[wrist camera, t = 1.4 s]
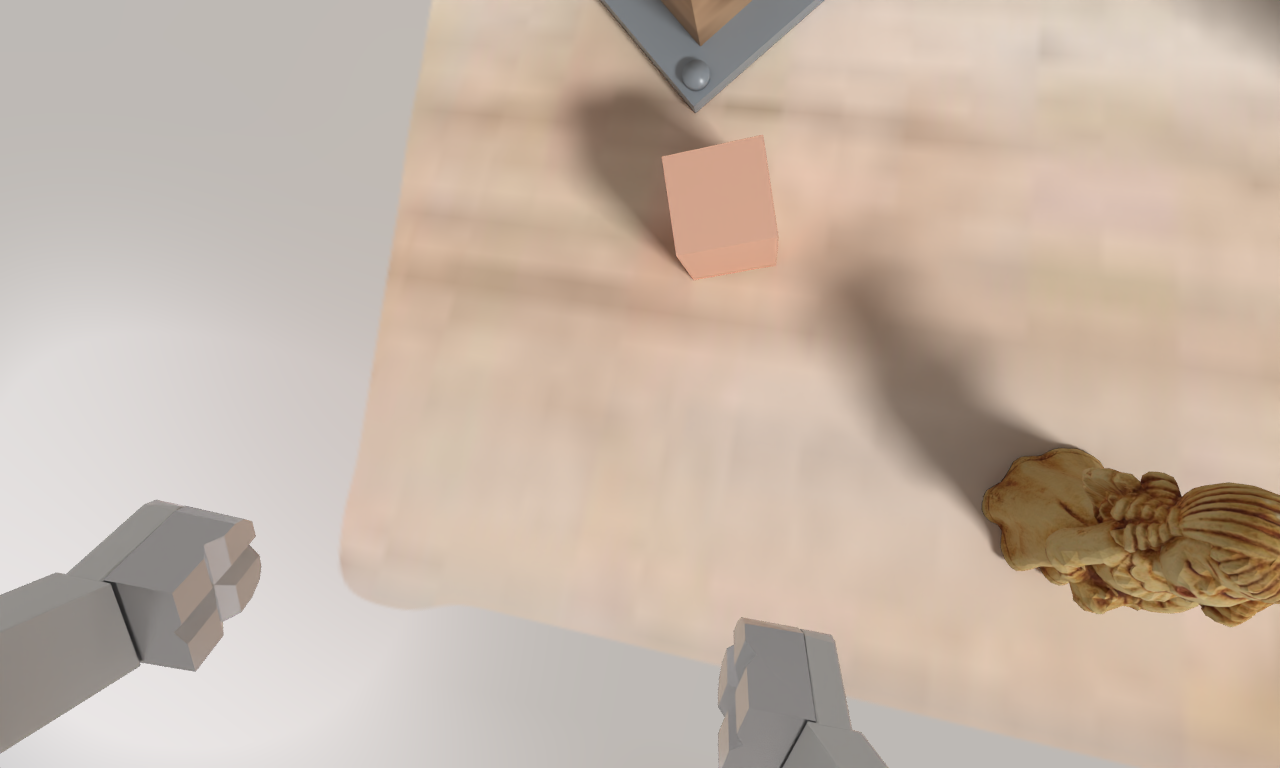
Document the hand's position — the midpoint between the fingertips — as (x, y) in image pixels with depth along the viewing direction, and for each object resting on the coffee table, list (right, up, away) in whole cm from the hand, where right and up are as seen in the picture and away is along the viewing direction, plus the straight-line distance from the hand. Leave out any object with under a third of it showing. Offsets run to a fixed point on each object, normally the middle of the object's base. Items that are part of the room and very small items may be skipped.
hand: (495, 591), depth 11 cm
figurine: (+26, -4, +26) cm, 37 cm away
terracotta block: (+8, +13, +29) cm, 33 cm away
